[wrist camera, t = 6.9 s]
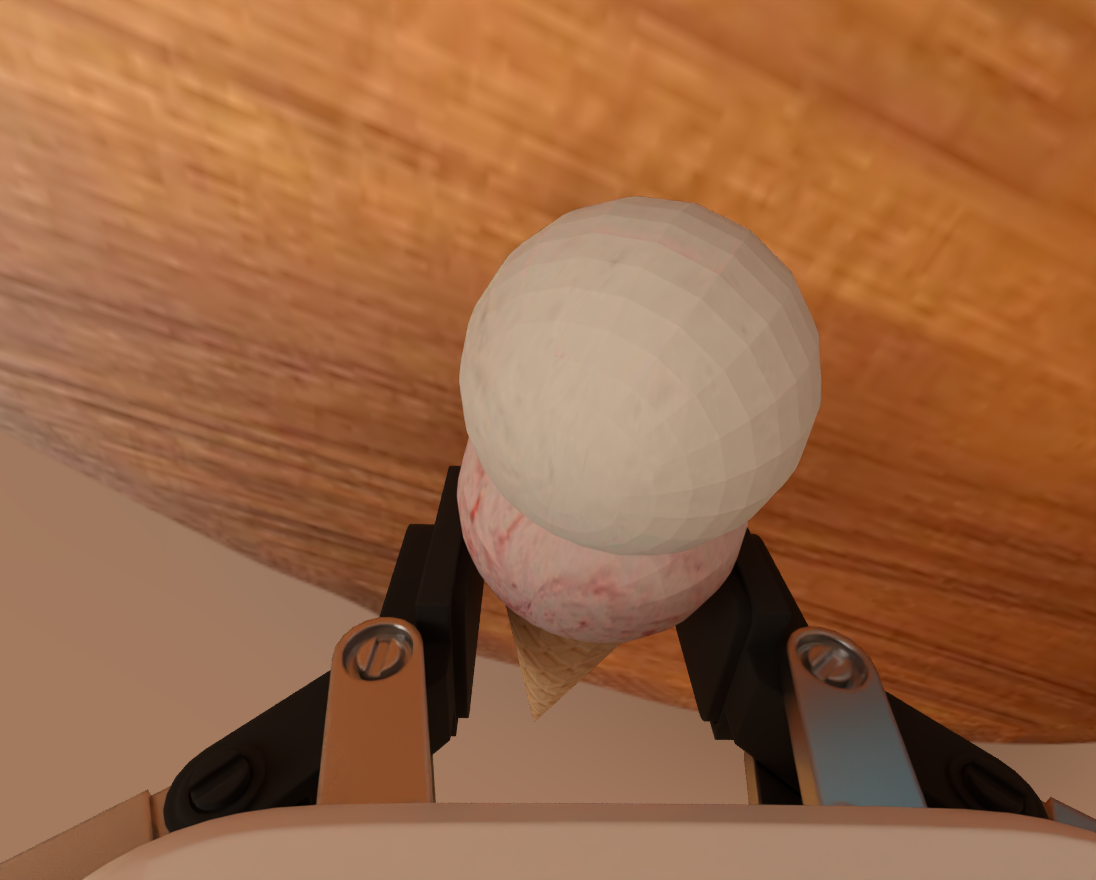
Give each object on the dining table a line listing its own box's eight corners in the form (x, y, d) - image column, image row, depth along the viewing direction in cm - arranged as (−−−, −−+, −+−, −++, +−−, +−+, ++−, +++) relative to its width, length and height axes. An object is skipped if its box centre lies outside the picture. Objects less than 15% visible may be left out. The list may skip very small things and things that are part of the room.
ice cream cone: (635, 693, 17) (912, 212, 7) (570, 857, 14) (905, 407, 4) (506, 619, 18) (579, 120, 8) (418, 754, 15) (359, 208, 5)
